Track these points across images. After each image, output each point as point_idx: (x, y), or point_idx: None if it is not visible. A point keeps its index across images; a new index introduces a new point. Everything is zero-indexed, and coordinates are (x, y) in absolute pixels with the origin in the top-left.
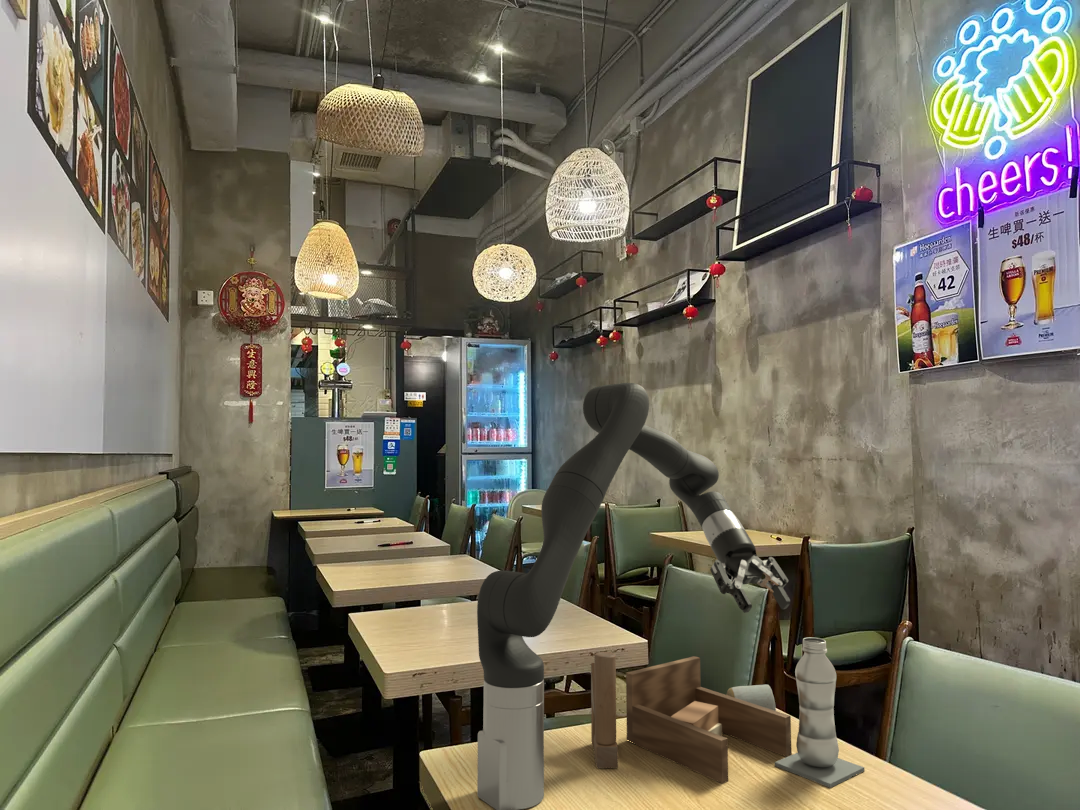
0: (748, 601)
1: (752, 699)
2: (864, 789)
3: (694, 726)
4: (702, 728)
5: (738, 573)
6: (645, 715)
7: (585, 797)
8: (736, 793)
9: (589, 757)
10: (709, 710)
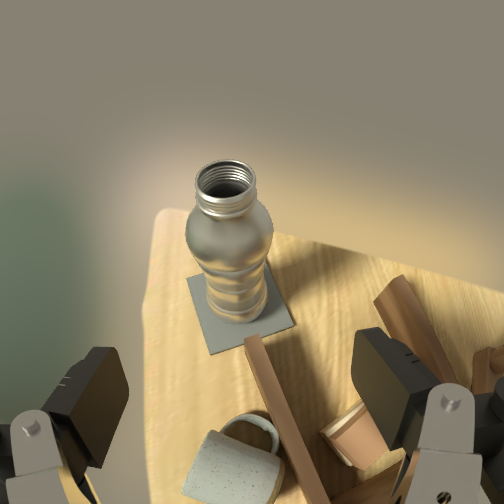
0: (377, 339)
1: (247, 455)
2: None
3: (422, 330)
4: None
5: (476, 476)
6: None
7: (497, 298)
8: (374, 273)
9: None
10: (363, 418)
